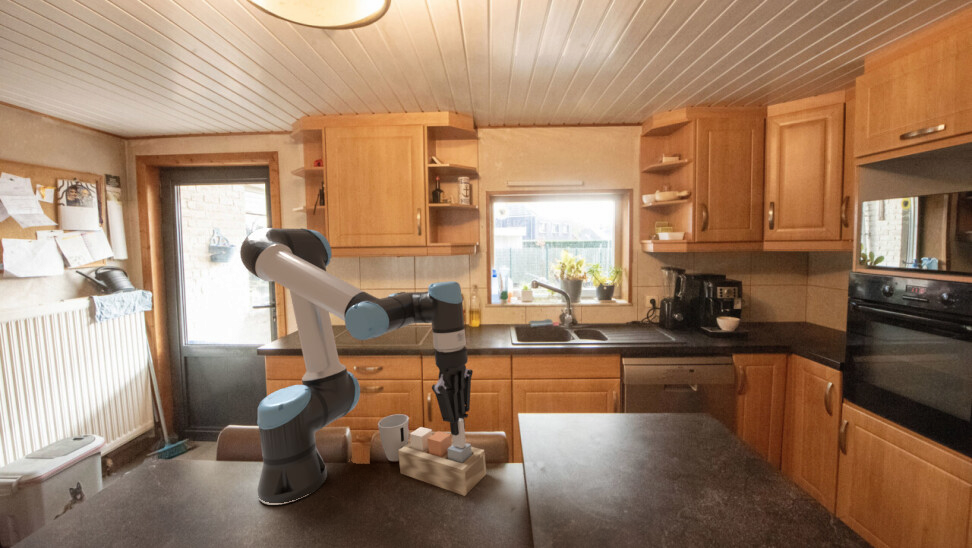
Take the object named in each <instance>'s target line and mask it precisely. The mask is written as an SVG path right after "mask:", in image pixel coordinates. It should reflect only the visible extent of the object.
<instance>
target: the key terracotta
mask: <svg viewBox="0 0 972 548" xmlns="http://www.w3.org/2000/svg"><path fill="white" fill-rule="evenodd" d="M451 442H452V434H451V433H446V432H443V431H439V430H438V431H436V432H435V433H434V434H433V435H432V436H431V437H429V438H428V447H429V454H431V455H435V456H438V457H441V458H442V457H443V456H445V455H446V454H447V453H448V450H447V449H448V448H449V447H450V446H452V443H451Z"/></svg>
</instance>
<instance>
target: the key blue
mask: <svg viewBox="0 0 972 548" xmlns="http://www.w3.org/2000/svg"><path fill="white" fill-rule="evenodd" d="M471 447H472V444H471V443H467V442H466V446H464V447H463V448H459V447H455V446H453V445H452V446H450V447H449V448H448V449H447V450H448V460H452V461H455V462H458V463H464V462H465V461H466V460H467V459H468V458H469V457H470V456H472V451H471Z"/></svg>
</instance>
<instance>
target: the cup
mask: <svg viewBox="0 0 972 548" xmlns="http://www.w3.org/2000/svg"><path fill="white" fill-rule="evenodd" d="M409 419H410V418H409V416H408V415H406V414H404V413H403V414H400V413H399V414H398V413H397V414H396V413H395V414H391V415H388V416H385V417H383V418H381V419H380V420H379V421H378V423H377V426H378V431H379V437H380V438H379V439H380V441H381V445H382V448H383V451H384V454H385V457H386V458H387V460H388V461H390V462H399V453H398V450H399V449H401V448H402V447H404V446H405V445H407V444H408V443H410V442H409V441H410V424H409V423H410V421H409Z"/></svg>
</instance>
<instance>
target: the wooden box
mask: <svg viewBox="0 0 972 548" xmlns="http://www.w3.org/2000/svg"><path fill="white" fill-rule="evenodd" d="M451 443H452V445H453V441H451ZM471 451H472V456H470V457H469V458H468V459H467V460H466V461H465V462H464V463H458V462H455V461H452V460H448V453H447V454H446V455H445V456H443V457H442V458H441V457H438V456H435V455H431V454H429V448H428V449H427V450H425V451H424V452H421V451H418V450H414V449H411V441H410V442H408V444H407V445H405V446H404V447H402V448H401V449H399V450H398V453H399V460H398V462H399V469H400V472H399V473H400V475H404V476H407V477H410V478H413V479H415V480H418V481H421V482H425V483H427V484H430V485H433V486H434V487H435V486H436V487H439V488H441V489H444V490H446V491H449V492H452V493H455V494H458V495H461V496H463V497H465V496H466V495H468V493H469V492H470V491H471V490H472V489H473V488H474V487H475V486H476V485H477V484H478V483H479V482H480V481H481V480H482V479H483V478H484V477H485V476H486V475H487V466H486V453H485V449H482V448H479V447H475V446H471Z"/></svg>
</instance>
